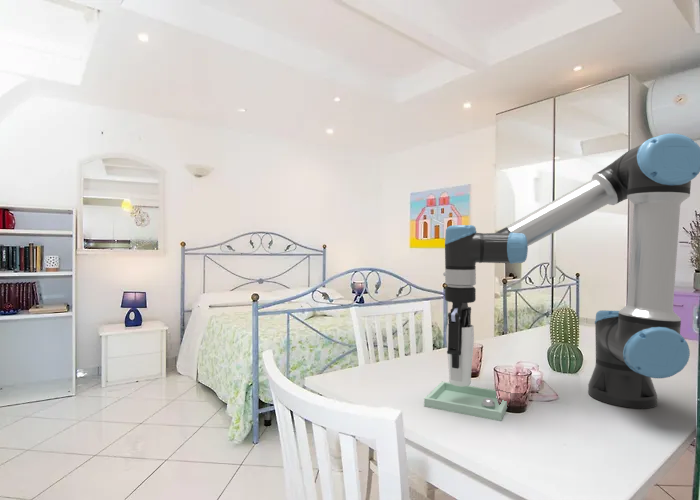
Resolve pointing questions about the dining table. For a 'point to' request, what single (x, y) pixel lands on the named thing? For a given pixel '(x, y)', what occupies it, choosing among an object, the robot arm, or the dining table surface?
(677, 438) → the dining table surface
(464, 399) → the tray
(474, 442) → the dining table surface
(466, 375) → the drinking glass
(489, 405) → the shiny metal ball
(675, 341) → the robot arm
